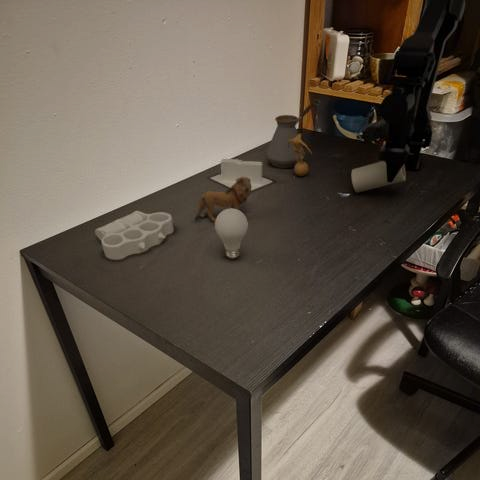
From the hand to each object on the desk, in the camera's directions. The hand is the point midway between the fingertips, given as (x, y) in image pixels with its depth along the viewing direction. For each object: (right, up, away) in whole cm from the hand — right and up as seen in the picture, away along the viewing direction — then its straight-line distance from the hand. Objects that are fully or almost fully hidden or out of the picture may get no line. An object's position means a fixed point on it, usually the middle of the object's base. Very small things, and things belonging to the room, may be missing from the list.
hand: (391, 176), depth 106 cm
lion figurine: (-42, -10, -2) cm, 43 cm away
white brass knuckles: (-62, -18, -9) cm, 65 cm away
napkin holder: (-38, +4, +14) cm, 40 cm away
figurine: (-21, +5, +14) cm, 26 cm away
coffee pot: (-21, +14, +25) cm, 35 cm away
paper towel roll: (-2, -1, +2) cm, 3 cm away
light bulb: (-40, -23, -16) cm, 49 cm away
